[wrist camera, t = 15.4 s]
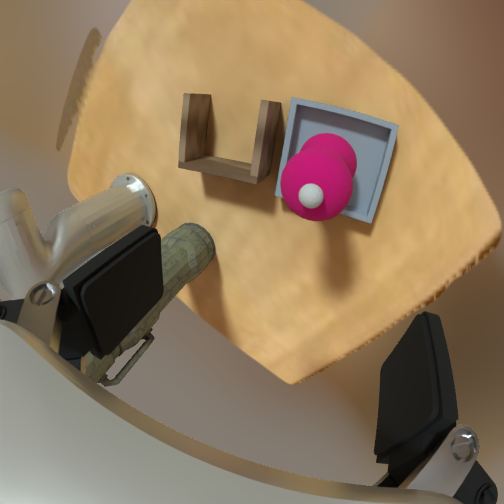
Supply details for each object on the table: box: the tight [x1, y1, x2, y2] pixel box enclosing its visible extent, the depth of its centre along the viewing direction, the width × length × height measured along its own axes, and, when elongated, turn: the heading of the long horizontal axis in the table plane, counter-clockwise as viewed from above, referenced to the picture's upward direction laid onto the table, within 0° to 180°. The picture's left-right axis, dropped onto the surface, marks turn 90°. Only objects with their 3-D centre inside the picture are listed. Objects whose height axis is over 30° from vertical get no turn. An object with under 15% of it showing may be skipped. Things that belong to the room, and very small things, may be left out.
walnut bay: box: [178, 93, 281, 184], centre depth 36 cm, size 11×12×6 cm
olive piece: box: [86, 223, 215, 386], centre depth 36 cm, size 9×12×35 cm
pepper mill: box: [280, 133, 357, 221], centre depth 26 cm, size 7×7×20 cm
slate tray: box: [275, 97, 399, 223], centre depth 34 cm, size 14×14×3 cm
